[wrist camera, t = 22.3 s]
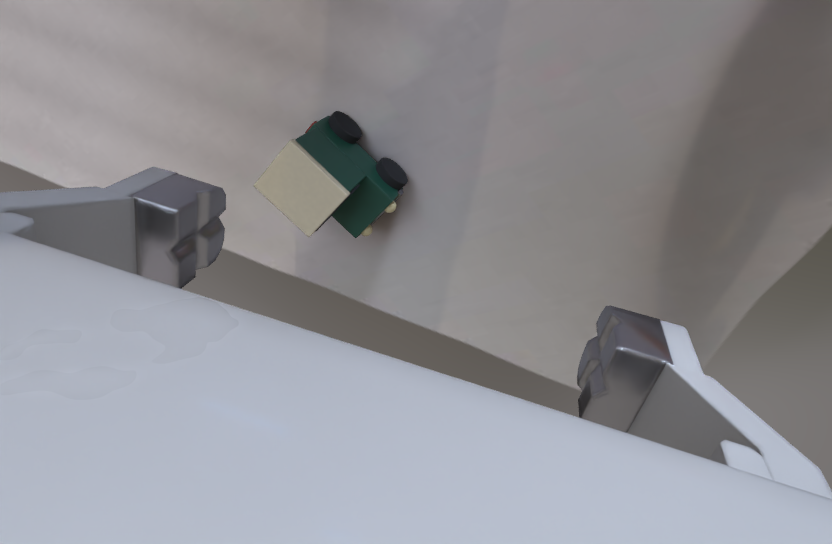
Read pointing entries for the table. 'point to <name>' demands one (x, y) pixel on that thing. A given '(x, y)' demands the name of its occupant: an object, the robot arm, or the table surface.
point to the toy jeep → (331, 179)
